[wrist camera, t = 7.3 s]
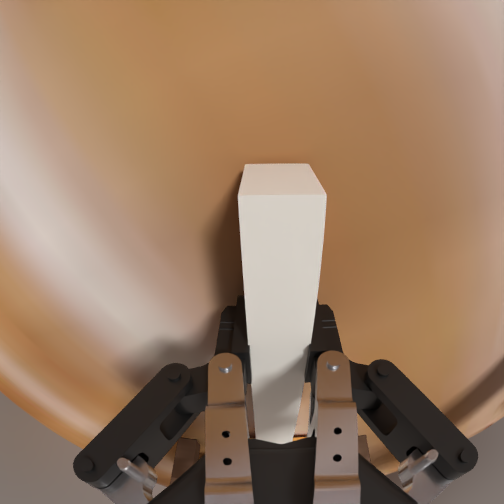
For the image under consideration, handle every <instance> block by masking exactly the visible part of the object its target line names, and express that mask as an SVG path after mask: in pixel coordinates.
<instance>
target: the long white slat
mask: <svg viewBox="0 0 504 504" xmlns="http://www.w3.org/2000/svg"><path fill="white" fill-rule="evenodd" d="M326 198H327V194H326V193H325V191H324V189H323V188H322V186H321V184H320V182H319V181H318V179H317V177H316V176H315V174H314V172H313V171H312V169H311V167H310V166H309V164H245V167H244V172H243V176H242V180H241V184H240V188H239V193H238V207H239V223H240V238H241V253H242V267H243V281H244V295H245V309H246V323H247V336H248V345H250V356H251V369H252V384H251V387H252V399H253V411H254V423H255V435H256V438H249V439H259V440H263V441H268V442H273V443H277V444H285V443H288V442H292V441H296V440H299V439H303V438H306V437H298V438H293V436H294V431H295V427H296V422H297V417H298V412H299V407H300V402H301V397H302V392H303V386H304V381H305V379H304V374H305V368H306V362H307V355H308V349H309V344H311V338H312V332H313V325H314V318H315V310H316V302H317V295H318V286H319V277H320V268H321V259H322V248H323V237H324V226H325V212H326Z"/></svg>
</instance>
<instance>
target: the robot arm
mask: <svg viewBox="0 0 504 504" xmlns="http://www.w3.org/2000/svg"><path fill="white" fill-rule="evenodd" d="M304 379H305V383H306V382H311V393H310V407H309V424H308V433H307V437H306V438H303V439H299V440H296V441H292V442H288V443H285V444H277V443H273V442H268V441H263V440H259V439H249V430H248V419H247V408H246V397H245V395H246V388H247V384H252V369H251V356H250V345H248V336H247V323H246V309H245V296H238V297H237V306H227V307H226V308H225V310H224V311H223V312H222V314H221V320H220V326H219V332H218V338H217V345H216V351H215V355H214V357H213V358H212V359H211V360H210V362H209V363H208V364H206V365H204V366H201V367H197V368H192V369H188V368H187V367H186V366H185V365H183V364H179V363H173V364H169V365H167V366H165V367H164V368H162V369H161V371H160V372H159V373H158V374H157V375H156V376H155V377H154V378H153V379H152V380H151V381H150V382H149V383H148V384H147V385H146V386H145V387H144V388H143V389H142V390H141V391H140V392H139V393H138V394H137V395H136V396H135V397H134V398H133V399H132V400H131V401H130V402H129V404H128V405H127V406H126V407H125V408H124V409H123V410H122V411H121V412H120V413H119V414H118V415H117V416H116V417H115V418H114V419H113V420H112V421H111V422H110V423H109V424H108V425H107V426H106V427H105V428H104V429H103V430H102V431H101V432H100V433H99V434H98V435H97V436H96V437H95V438H94V439H93V440H92V441H91V442H90V443H89V444H88V445H87V446H86V447H85V448H84V449H83V450H82V451H81V452H80V453H79V454H78V455H77V456H76V458H75V460H74V463H73V468H74V472H75V473H76V475H77V477H78V478H79V479H81V480H82V481H85V482H86V483H88V484H89V485H90V486H92V487H94V488H96V489H98V490H100V491H101V492H102V493H104V494H105V495H106V496H107V497H108V498H109V499H110V500H111V501H112V502H113V503H115V504H429V503H430V502H431V501H433V500H434V499H435V498H436V497H437V496H438V495H439V494H440V493H441V492H442V491H443V490H444V489H445V488H446V487H447V486H448V485H449V484H450V483H451V482H452V481H453V480H455V479H457V478H459V477H460V476H462V475H464V474H465V473H467V472H469V471H470V470H471V469H473V468H474V466H475V465H476V463H477V460H478V452H477V449H476V447H475V446H474V445H473V444H472V443H471V442H470V441H469V440H468V439H467V438H466V437H465V436H464V435H463V434H462V433H461V432H460V431H459V430H458V429H457V427H456V426H455V425H454V424H453V423H452V422H451V421H450V420H449V419H448V418H447V417H446V416H445V415H444V414H443V413H442V412H441V411H440V410H439V409H438V408H437V407H436V406H435V405H434V404H433V403H432V402H431V401H430V400H429V399H428V398H427V397H426V396H425V395H424V394H423V393H422V392H421V391H420V390H419V389H418V388H417V387H416V386H415V385H414V384H413V383H412V382H411V381H410V380H409V379H408V378H407V377H406V376H405V375H404V374H403V373H402V372H401V371H400V370H399V369H398V368H397V367H396V366H395V365H394V364H393V363H392V362H390V361H388V360H383V359H380V360H375V361H373V362H372V363H371V364H370V365H363V364H358V363H355V362H352V361H350V360H349V359H348V358H347V356H346V355H344V353H343V351H342V346H341V342H340V338H339V334H338V330H337V326H336V322H335V317H334V314H333V311H332V310H331V309H330V307H329V306H328V305H327V304H326V305H319V303H318V299H317V302H316V310H315V318H314V325H313V332H312V338H311V344H309V349H308V355H307V362H306V368H305V374H304ZM202 411H205V454H204V455H203V456H202V457H201V458H200V459H199V460H198V461H197V462H196V463H195V464H193V465H192V466H191V467H190V468H189V469H188V470H187V471H186V472H184V473H183V474H182V475H181V476H180V477H179V478H177V479H176V480H175V481H174V482H173V483H172V484H170V485H169V486H168V487H167V488H166V489H164V490H163V491H162V492H161V493H159V494H158V495H157V496H156V497H155V498H153V497H152V490H153V487H154V486H155V484H156V482H157V473H156V471H155V470H154V467H155V466H156V465H157V464H158V463H159V462H160V460H161V459H162V458H163V457H164V456H165V455H166V453H167V452H168V451H169V450H170V449H171V448H172V446H173V445H174V444H175V443H176V442H177V440H178V439H179V438H180V437H181V436H182V434H183V433H184V432H185V431H186V430H187V428H188V427H189V426H190V425H191V424H192V422H193V421H194V420H195V419H196V417H197V416H198V415H199V414H200V412H202ZM357 413H358V414H359V415H360V416H361V418H362V419H363V420H364V421H365V422H366V424H367V425H368V426H369V427H370V428H371V430H372V431H373V432H374V433H375V434H376V435H377V437H378V438H379V439H380V440H381V441H382V442H383V444H384V445H385V446H386V447H387V448H388V449H389V451H390V452H391V453H392V454H393V455H394V456H395V458H396V459H397V460H398V461H399V462H400V465H399V467H398V476H399V478H400V480H401V482H402V486H403V488H402V489H401V488H400V487H398V486H397V485H396V484H394V483H393V482H392V481H391V480H390V479H389V478H387V477H386V476H385V475H384V474H383V473H381V472H380V471H379V470H378V469H377V468H376V467H374V466H373V465H372V464H371V463H370V462H369V461H368V460H366V459H365V458H364V457H363V456H362V455H361V454H360V453H359V452H358V427H357Z"/></svg>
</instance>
